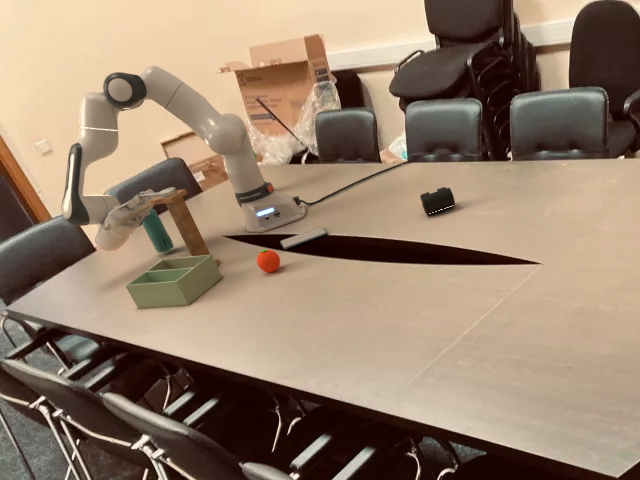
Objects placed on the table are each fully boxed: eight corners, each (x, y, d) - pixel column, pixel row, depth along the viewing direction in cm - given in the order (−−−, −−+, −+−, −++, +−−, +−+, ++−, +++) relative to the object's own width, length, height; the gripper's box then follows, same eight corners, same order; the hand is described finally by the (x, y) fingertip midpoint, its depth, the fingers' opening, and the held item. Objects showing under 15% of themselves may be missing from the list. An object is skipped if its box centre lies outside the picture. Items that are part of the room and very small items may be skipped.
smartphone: (327, 232, 239) (283, 247, 235) (328, 235, 240) (285, 250, 236) (321, 226, 246) (279, 241, 242) (322, 228, 246) (280, 243, 243)
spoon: (132, 202, 228) (129, 197, 227) (142, 195, 232) (140, 191, 231) (169, 197, 222) (167, 192, 222) (180, 190, 226) (178, 186, 226)
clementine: (260, 270, 226) (251, 249, 222) (281, 262, 228) (273, 242, 224) (263, 278, 220) (253, 257, 216) (285, 270, 221) (276, 249, 217)
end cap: (428, 219, 231) (422, 199, 227) (423, 213, 237) (417, 193, 233) (457, 209, 232) (451, 189, 229) (451, 203, 238) (446, 184, 234)
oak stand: (186, 274, 238) (149, 200, 224) (199, 264, 244) (163, 192, 230) (208, 272, 235) (171, 197, 221) (220, 262, 241) (185, 189, 227)
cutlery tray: (138, 308, 223) (125, 285, 218) (174, 280, 236) (162, 258, 232) (188, 305, 215) (176, 281, 211) (222, 276, 229) (211, 254, 225)
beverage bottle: (170, 255, 259) (143, 203, 248) (155, 257, 261) (127, 206, 250) (179, 247, 264) (153, 196, 254) (165, 250, 266) (138, 199, 255)
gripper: (94, 225, 228) (110, 200, 220) (137, 199, 243) (154, 176, 235) (110, 239, 230) (127, 216, 222) (151, 213, 245) (169, 190, 237)
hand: (141, 195), depth 229 cm, fingers closed on spoon, 1 cm apart
